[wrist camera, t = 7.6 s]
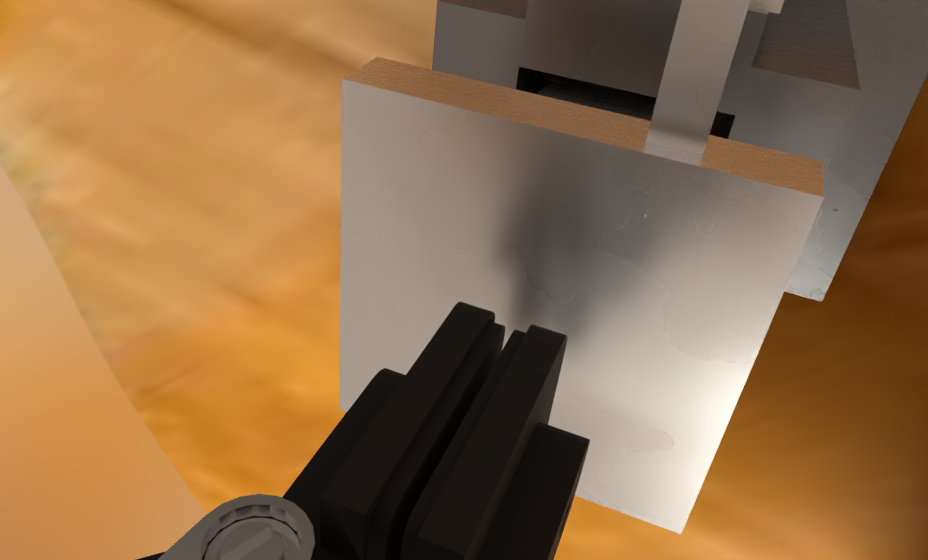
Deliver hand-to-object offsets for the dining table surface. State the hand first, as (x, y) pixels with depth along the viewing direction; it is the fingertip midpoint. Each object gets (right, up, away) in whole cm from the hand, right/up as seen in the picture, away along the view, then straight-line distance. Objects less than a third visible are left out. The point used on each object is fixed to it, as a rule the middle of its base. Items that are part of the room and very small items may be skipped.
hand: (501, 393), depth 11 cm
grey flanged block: (+4, +7, +8) cm, 11 cm away
